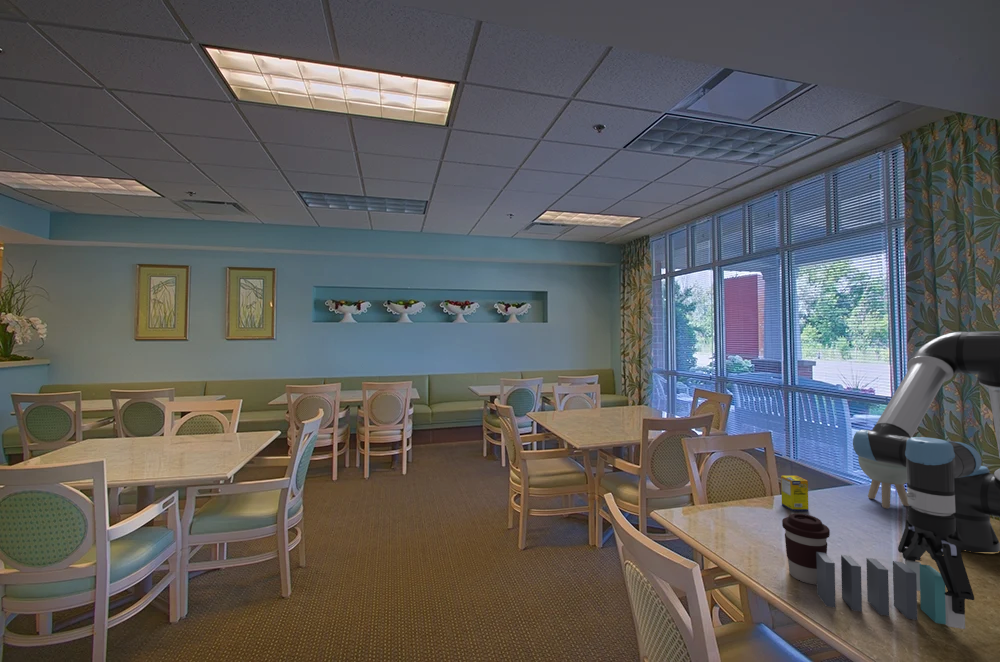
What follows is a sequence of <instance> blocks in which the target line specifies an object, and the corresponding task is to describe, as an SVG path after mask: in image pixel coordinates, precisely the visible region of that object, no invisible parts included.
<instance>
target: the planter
mask: <svg viewBox="0 0 1000 662" xmlns="http://www.w3.org/2000/svg"><path fill="white" fill-rule="evenodd" d="M857 456H858V455H857ZM857 458H858V465H859V468H860V469H861V471H862V472H863V473H864V474H865V475H866V476H867V477H868V478H869V480H871V482H870V486H869V491H868V494H867V498H868V499H872V500H875V499H876V497H877V494H878V491H879V489H880V487H881V489H880V490H881V506H882V508H883V509H887V510H889V509H890V508H891V496H892V495H891V491H892V490H891V489H892V485H894V487H895V489H896V492H897V495H898V498H899V499H900V502H901V504H902V505H903V506H904V507H908V506H910V505H909V504H908V501H907V496H906V493H907V491H906V488H905V484H907V469H906V467H903V466H898V465H893V464H889V463H884V462H879V461H878V462H876V461H873V460H870V459H866V458H862V457H860V456H858V457H857Z"/></svg>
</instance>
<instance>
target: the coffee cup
mask: <svg viewBox="0 0 1000 662" xmlns="http://www.w3.org/2000/svg"><path fill="white" fill-rule="evenodd" d="M781 523H782V524H781V525H782V528H783V529H784V530H785V531H784V532H785V533H784V540H785V551H786V557H787V561H788V571H789V574H790V576H792V578H794V579H795V580H798V581H799V580H800V582H802V583H805V584H810V585H817V559H816V552H823V553H826V554H827V555H828V542H827V541H828V540H827V539H828V538H830V535H831V534H830V533H831V532H830V531H831V530H830V528H829V527H828V525H825V524H824V523H823V522H822V520H821V519H820V518H818V517H816V516H813V515H809V514H806V513H797V512H796V513H795V512H794V513H791V514H790V513H789V515H788V516H787V517H784V518H783V519H782V520H781Z"/></svg>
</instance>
